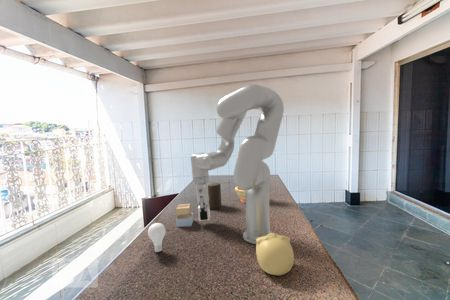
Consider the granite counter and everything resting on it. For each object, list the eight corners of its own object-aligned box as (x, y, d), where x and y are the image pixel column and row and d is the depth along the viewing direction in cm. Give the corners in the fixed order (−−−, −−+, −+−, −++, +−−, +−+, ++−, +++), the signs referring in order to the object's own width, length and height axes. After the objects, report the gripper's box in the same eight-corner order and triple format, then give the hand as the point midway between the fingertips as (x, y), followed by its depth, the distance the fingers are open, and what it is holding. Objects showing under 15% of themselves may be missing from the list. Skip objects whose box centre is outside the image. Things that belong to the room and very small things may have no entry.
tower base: (191, 226, 109) (190, 218, 108) (176, 227, 109) (176, 219, 108) (193, 220, 116) (192, 212, 115) (179, 221, 116) (178, 213, 115)
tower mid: (189, 218, 109) (189, 207, 108) (177, 219, 108) (176, 208, 108) (191, 213, 115) (190, 203, 114) (178, 214, 114) (178, 204, 114)
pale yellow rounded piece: (287, 256, 80) (286, 226, 79) (299, 279, 68) (298, 244, 67) (254, 258, 79) (253, 228, 78) (260, 281, 67) (259, 246, 66)
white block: (209, 220, 107) (208, 207, 106) (198, 221, 107) (197, 208, 106) (210, 216, 112) (209, 204, 111) (199, 217, 112) (198, 205, 111)
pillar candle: (219, 209, 128) (218, 183, 127) (202, 209, 130) (201, 183, 129) (223, 204, 138) (222, 179, 136) (207, 204, 140) (206, 179, 138)
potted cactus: (259, 196, 149) (258, 158, 147) (261, 204, 134) (259, 161, 131) (235, 197, 151) (234, 159, 148) (234, 204, 135) (232, 162, 133)
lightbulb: (160, 245, 92) (158, 218, 90) (170, 250, 87) (168, 222, 86) (146, 252, 87) (143, 224, 86) (156, 258, 83) (153, 228, 82)
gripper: (207, 182, 99) (211, 223, 101) (209, 175, 116) (213, 210, 118) (190, 184, 99) (194, 225, 101) (195, 176, 116) (198, 212, 118)
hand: (204, 217), depth 109 cm, fingers closed on white block, 5 cm apart
